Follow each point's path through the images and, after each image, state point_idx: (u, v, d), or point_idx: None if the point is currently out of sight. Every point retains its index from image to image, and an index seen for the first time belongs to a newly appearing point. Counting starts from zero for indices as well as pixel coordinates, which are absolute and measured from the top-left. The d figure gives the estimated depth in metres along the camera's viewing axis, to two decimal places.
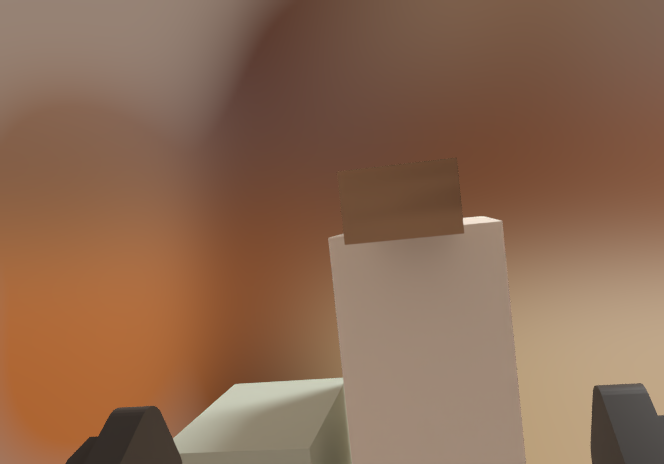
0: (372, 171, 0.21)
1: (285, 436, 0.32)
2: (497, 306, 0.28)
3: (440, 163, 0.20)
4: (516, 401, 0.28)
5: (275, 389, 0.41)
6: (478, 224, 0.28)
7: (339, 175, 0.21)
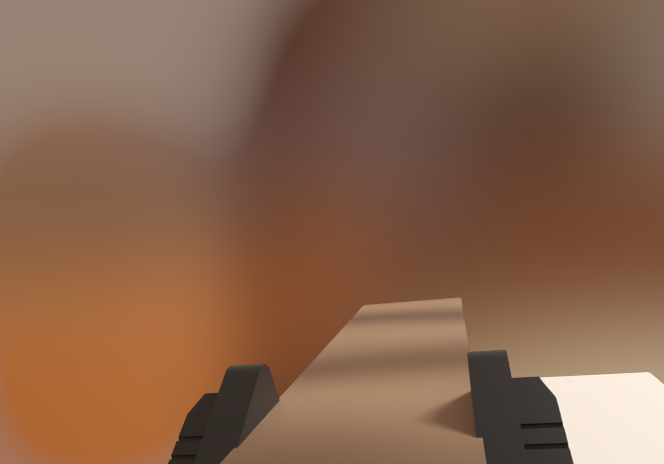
0: None
1: None
2: None
3: None
4: None
5: None
6: None
7: None
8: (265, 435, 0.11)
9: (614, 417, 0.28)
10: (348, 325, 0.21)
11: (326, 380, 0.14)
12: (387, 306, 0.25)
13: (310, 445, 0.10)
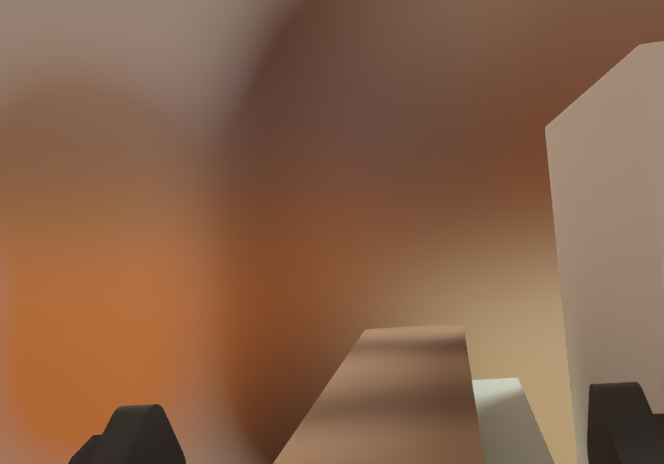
0: None
1: None
2: None
3: None
4: None
5: None
6: None
7: None
8: None
9: None
10: (350, 355, 0.21)
11: (331, 425, 0.14)
12: (389, 331, 0.25)
13: None
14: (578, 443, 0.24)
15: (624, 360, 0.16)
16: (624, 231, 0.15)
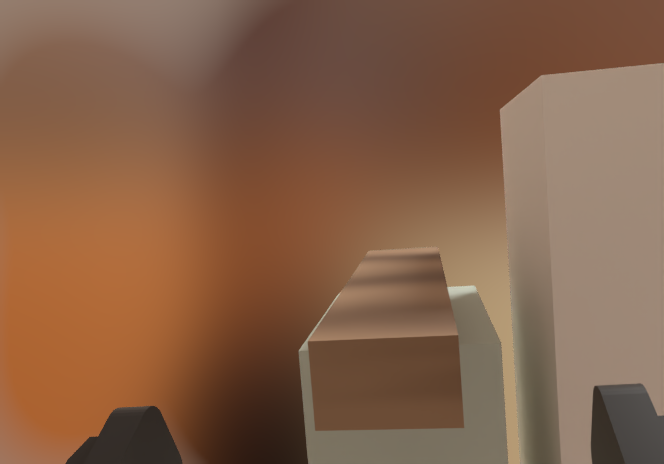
0: (352, 344, 0.17)
1: None
2: None
3: (437, 340, 0.16)
4: None
5: None
6: None
7: (310, 346, 0.17)
8: (342, 305, 0.21)
9: None
10: (363, 262, 0.32)
11: (363, 286, 0.25)
12: (386, 251, 0.35)
13: (368, 307, 0.21)
14: (513, 329, 0.36)
15: (534, 258, 0.27)
16: (535, 180, 0.26)
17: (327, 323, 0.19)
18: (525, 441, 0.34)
